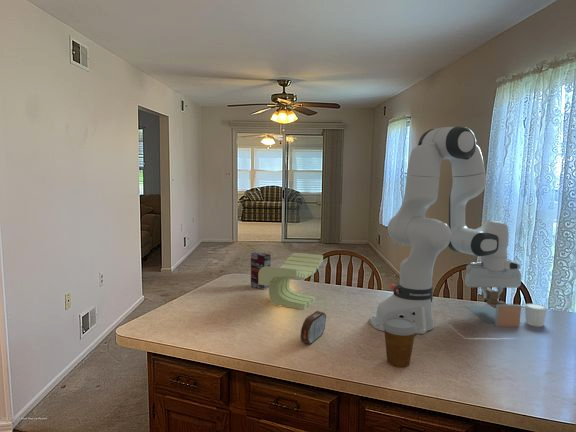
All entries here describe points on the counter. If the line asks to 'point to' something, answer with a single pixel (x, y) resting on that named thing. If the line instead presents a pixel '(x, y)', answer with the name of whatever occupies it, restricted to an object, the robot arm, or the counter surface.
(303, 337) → the tin
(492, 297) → the tan stepped block
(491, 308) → the tool rest mat
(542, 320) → the white cup
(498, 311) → the tile
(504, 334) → the counter surface
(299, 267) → the slatted curved stool
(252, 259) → the supplement box
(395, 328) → the disposable coffee cup
